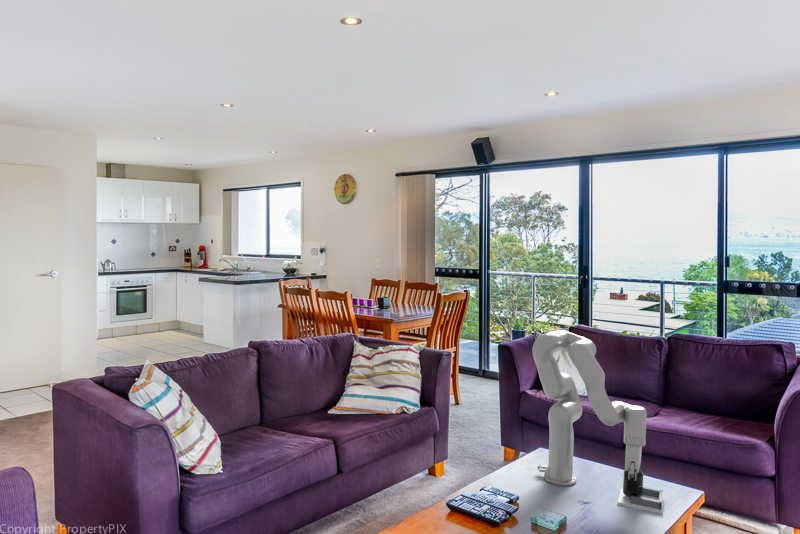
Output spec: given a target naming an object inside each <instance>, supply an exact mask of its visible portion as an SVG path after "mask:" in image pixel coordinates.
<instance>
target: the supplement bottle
mask: <svg viewBox="0 0 800 534" xmlns="http://www.w3.org/2000/svg"><path fill="white" fill-rule="evenodd" d="M630 470H631V469H630ZM634 472H636V470H634ZM628 475H629V470H628V471H625V469H624V470H623V481H622V482H623V483H622V488H623V493H624V495H626V496H628V497H631V496H635V497H640V498H641V497H642V494H643V487H644V472H643V471H642V465H641V463H640V469H639V472H638V473H637V478H636V480H637V491H631V490H628V489H627V485H628ZM634 475H635V474H634Z"/></svg>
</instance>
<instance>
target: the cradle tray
mask: <svg viewBox="0 0 800 534" xmlns="http://www.w3.org/2000/svg"><path fill="white" fill-rule="evenodd" d="M663 491H664V490H662V489H656V488H655V489H654V488H652V487H651V488H649V487H645V486H643V494H642V497H641V498H640V497H635V496H631V497H628V496H626V495H624V493H623V487H620V491H619V495H618V498H617V506H621V507H625V508H626V507H627V508H631V509H635V510H640V511H645V512H651V513H655V514H661V515H663V509H664V508H663V507H664V506H663V505H664V494H663Z"/></svg>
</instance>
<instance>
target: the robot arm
mask: <svg viewBox="0 0 800 534" xmlns="http://www.w3.org/2000/svg"><path fill="white" fill-rule="evenodd" d="M531 348H532V349H531V351H532V352H531V353H532V357H533V361H534V363H535V366H536V369H537V373H538V377H539V380H540V383H541V386H542V390H543V392H544V394H545V396H546V397H547V398H548V399H550V400H557V402H556V403H554V404H553V405H551V407H550V408H549V410H548V416H547V417H548V419H547V421H548V426H549V427H548V428H549V431H548V432H549V434H548V435H549V439H548V442H549V443H548V465H541V464H538V465H537V470H539V471H538V472H540V473H544V474H543V479H544V480H545V481H547V482H548V483H550V484H552V485H557V486H563V487H564V486H566V487H567V486H573V485H575V484H576V483H577V477H576V476H575V475H574V474H573V473H574V472H573V467H574V446H575V445H574V443H575V441H574V440H575V438H574V437H575V436H574V435H575V433H574V427H573V423H574V422H576V421H577V420H579V419H580V418H581V416H582V415H583V405H582V402H581V398H580V394H579V393H578V390H577V387H576V383H575V382H574V380H573V378H572V376H570V375H569V374H567V373H566V372H561V371H560V368H559V364H558V361H557V360H556V358H555V357H554V354H555V353H557V352H561V351H563V352H565V353H567V355H568V357H569V360H570V361H571V363H572V364H573V366H574V368H575V369H576V371H577V372H578V374H579V376H580V378H581V379H582V381H583V383H584V386H585V390H586V394H587V397H588V398H587V399H588V401H589V404H590V406H591V407H592V410H593V412H594V413H595V414H596V417H598V419H599V421H601V422H602V424H604V425H606V426H609V427H613V426H615V425H617V424H619V423H620V422H624V423H623V426H624V427H623V428H624V429H623V444H625V445H626V446H625V457H624V458H625V459H624V460H625V461H624V470H625V471H628V470H629V475H628V485H627V489H628V490H631V491H637V480H636V478H637V473H638V472H639V469H640V464H641V463H642V451H643V450H642V447H645V446H646V438H647V437H646V436H647V413H648V412H647V410H646V408H645V407H643V406H640V405H634V404H629V403H625V402H623V401H619V400H613V401H611V400H610V398H609V396H608V394H607V391H606V389H605V382H606V373H605V372H604V369H603V368H602V367H601V365H600V363H599V362H598V359H596V357H595V356H596V354H597V346H596V345H595V343H594V342H593V341H592V340H591V339H589V338H586V337H585V336H581V335H577V334H575V333H573V332H569V331H568V330H565V329H564V330H563V329H556V330H555V329H554V330H552V331H546V332H544V333H543V334H541V335H540V336H538V337H537V338H536V339H535V341H534V342H533V345H532V347H531ZM630 469H631V470H630ZM634 470H636V472H634ZM634 474H635V475H634Z"/></svg>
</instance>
